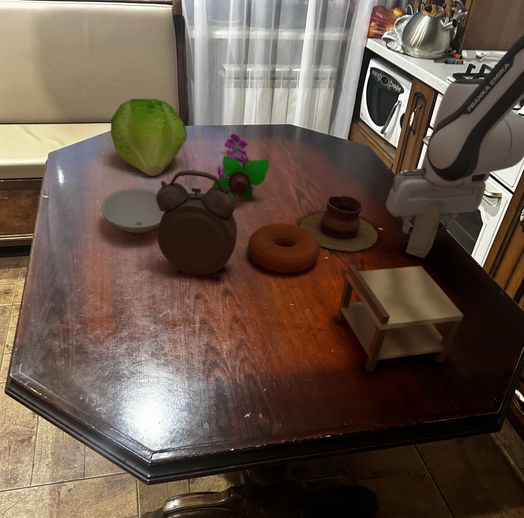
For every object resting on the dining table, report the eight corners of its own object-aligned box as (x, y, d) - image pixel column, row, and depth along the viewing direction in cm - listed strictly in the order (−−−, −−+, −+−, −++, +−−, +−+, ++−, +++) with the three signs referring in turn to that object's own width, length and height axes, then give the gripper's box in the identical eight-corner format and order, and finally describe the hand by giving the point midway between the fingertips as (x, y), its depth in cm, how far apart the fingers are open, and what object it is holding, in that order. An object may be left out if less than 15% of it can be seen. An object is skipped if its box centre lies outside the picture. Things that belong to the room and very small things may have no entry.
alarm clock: (237, 264, 103) (242, 167, 90) (231, 285, 98) (235, 185, 84) (166, 255, 104) (160, 157, 90) (156, 275, 98) (149, 174, 85)
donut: (283, 232, 114) (285, 212, 111) (332, 262, 107) (337, 241, 103) (232, 253, 106) (233, 231, 103) (281, 287, 99) (284, 265, 95)
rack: (406, 311, 96) (423, 258, 88) (443, 362, 86) (467, 307, 78) (336, 318, 93) (348, 264, 85) (367, 372, 83) (383, 316, 75)
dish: (104, 209, 116) (101, 188, 112) (168, 207, 119) (167, 187, 115) (104, 250, 103) (100, 228, 100) (176, 247, 106) (175, 225, 103)
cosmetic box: (423, 259, 110) (441, 207, 102) (404, 252, 112) (419, 200, 104) (432, 247, 114) (449, 195, 106) (412, 241, 116) (428, 189, 108)
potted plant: (221, 225, 122) (217, 174, 150) (283, 193, 119) (268, 147, 146) (194, 179, 115) (196, 135, 142) (260, 144, 112) (248, 105, 139)
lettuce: (104, 177, 127) (139, 137, 116) (98, 113, 133) (131, 68, 122) (162, 198, 139) (199, 163, 128) (154, 138, 145) (189, 100, 134)
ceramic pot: (333, 205, 126) (338, 178, 121) (393, 235, 117) (401, 206, 113) (283, 227, 116) (286, 198, 111) (344, 261, 107) (351, 231, 102)
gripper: (404, 176, 96) (386, 241, 105) (497, 172, 101) (473, 235, 110) (389, 163, 100) (374, 226, 110) (480, 160, 105) (457, 221, 114)
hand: (424, 230), depth 110 cm, fingers closed on cosmetic box, 7 cm apart
